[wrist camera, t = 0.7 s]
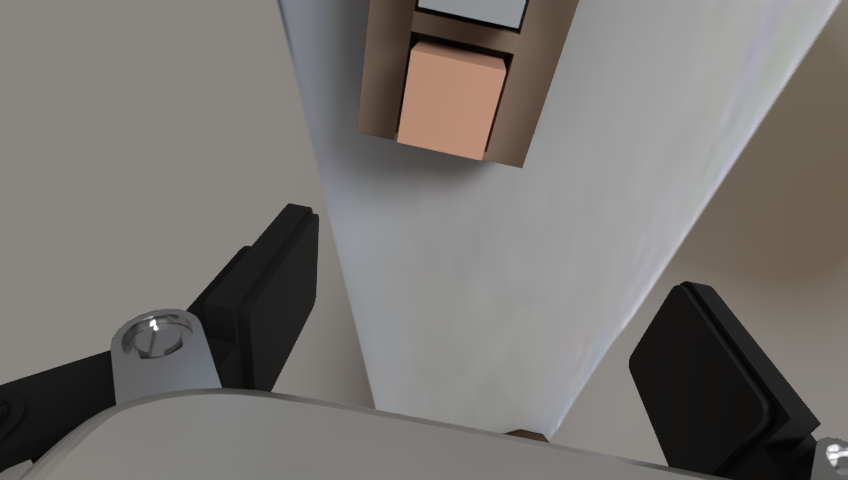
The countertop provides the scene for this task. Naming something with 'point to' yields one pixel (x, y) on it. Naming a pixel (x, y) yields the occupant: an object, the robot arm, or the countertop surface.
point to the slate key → (481, 9)
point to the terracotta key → (450, 99)
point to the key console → (519, 47)
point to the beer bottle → (528, 435)
